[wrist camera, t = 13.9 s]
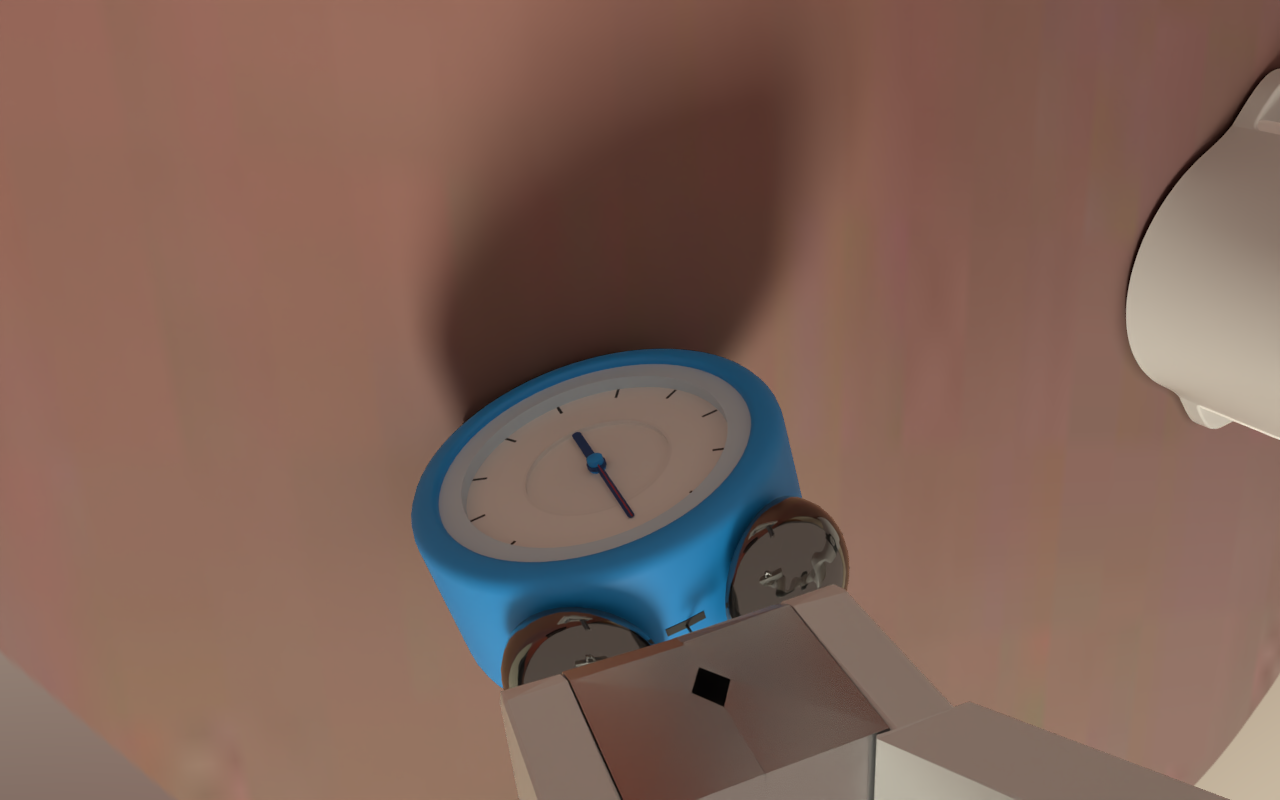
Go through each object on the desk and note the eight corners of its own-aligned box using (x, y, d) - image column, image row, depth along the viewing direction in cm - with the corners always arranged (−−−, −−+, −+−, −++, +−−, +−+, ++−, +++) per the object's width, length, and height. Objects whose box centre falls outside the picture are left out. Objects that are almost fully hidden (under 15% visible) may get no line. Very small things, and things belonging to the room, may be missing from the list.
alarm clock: (685, 305, 41) (892, 485, 28) (718, 427, 44) (918, 637, 31) (381, 436, 38) (458, 695, 26) (439, 555, 42) (534, 837, 29)
